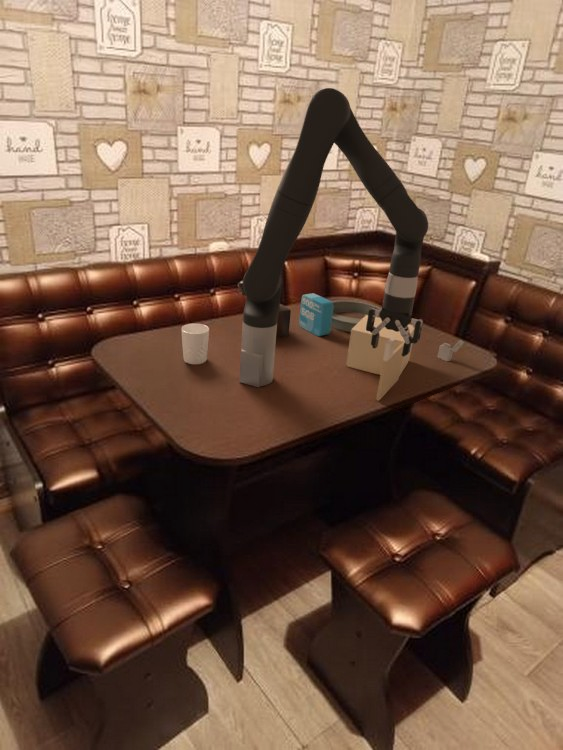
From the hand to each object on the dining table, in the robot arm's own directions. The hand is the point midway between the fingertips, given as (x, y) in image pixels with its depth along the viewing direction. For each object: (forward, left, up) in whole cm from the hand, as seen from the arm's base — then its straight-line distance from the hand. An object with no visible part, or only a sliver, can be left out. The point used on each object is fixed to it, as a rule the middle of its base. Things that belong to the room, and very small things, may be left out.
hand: (389, 351), depth 141 cm
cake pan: (+52, +25, -14) cm, 59 cm away
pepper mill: (+22, +48, -14) cm, 55 cm away
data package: (+35, +34, -14) cm, 51 cm away
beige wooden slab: (+5, 0, -14) cm, 15 cm away
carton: (+22, +7, -14) cm, 27 cm away
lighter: (+37, -12, -14) cm, 42 cm away
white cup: (-8, +55, -14) cm, 57 cm away
